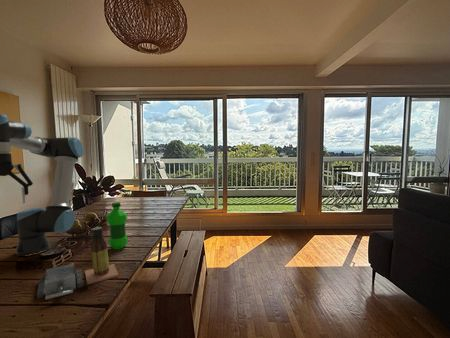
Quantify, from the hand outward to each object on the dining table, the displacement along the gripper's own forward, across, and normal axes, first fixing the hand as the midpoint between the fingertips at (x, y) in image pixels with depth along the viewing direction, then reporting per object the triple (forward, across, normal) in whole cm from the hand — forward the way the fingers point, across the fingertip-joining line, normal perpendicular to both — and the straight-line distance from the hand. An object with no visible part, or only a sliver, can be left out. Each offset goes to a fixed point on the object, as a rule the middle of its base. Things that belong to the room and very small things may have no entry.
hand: (3, 204), depth 108 cm
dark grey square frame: (+33, +18, -19) cm, 42 cm away
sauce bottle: (+32, +33, -15) cm, 48 cm away
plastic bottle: (+33, +45, +14) cm, 57 cm away
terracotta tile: (+33, +33, -15) cm, 49 cm away
